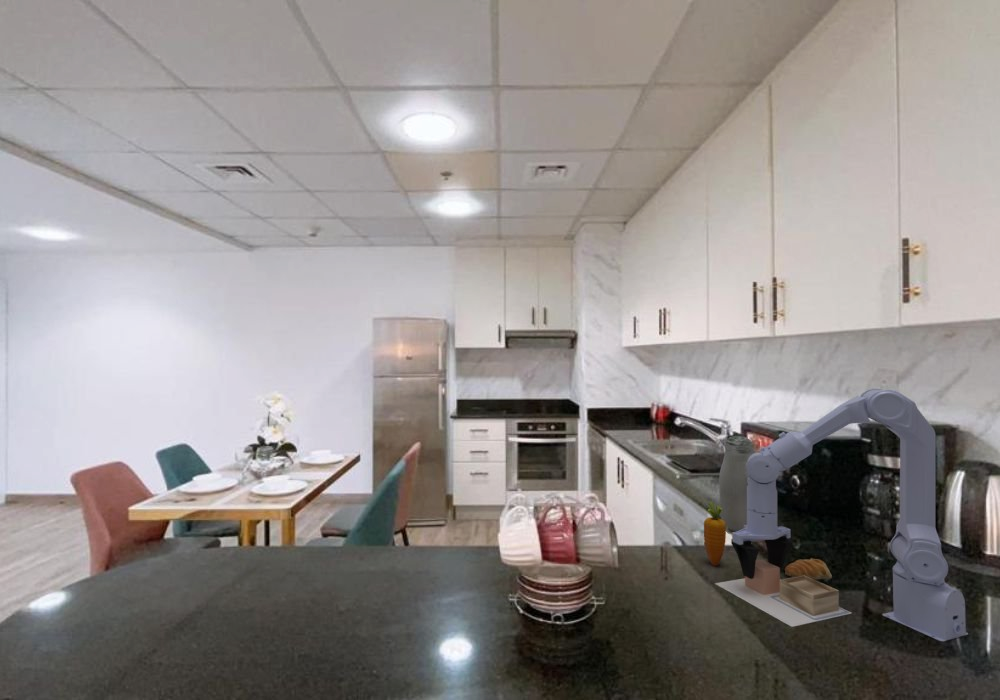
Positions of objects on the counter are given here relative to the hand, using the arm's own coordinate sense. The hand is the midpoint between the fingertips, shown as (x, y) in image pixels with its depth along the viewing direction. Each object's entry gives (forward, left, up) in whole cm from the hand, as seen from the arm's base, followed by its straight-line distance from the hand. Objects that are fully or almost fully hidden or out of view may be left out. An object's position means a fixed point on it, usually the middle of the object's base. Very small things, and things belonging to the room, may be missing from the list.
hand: (761, 574), depth 99 cm
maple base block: (-8, -3, -3) cm, 9 cm away
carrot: (+13, 0, -4) cm, 13 cm away
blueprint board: (-4, 0, -4) cm, 5 cm away
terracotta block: (0, 0, -3) cm, 3 cm away
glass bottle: (+31, -27, -4) cm, 41 cm away
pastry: (+2, -17, -4) cm, 18 cm away
